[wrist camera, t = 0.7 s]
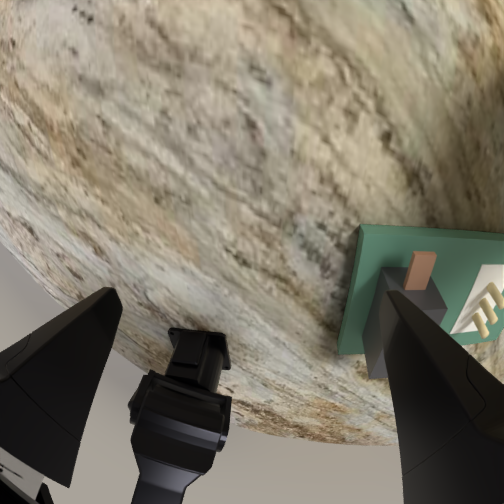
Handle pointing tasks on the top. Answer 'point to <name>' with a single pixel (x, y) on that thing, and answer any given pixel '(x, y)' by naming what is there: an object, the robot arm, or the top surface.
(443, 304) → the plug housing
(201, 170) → the top surface
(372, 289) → the board
